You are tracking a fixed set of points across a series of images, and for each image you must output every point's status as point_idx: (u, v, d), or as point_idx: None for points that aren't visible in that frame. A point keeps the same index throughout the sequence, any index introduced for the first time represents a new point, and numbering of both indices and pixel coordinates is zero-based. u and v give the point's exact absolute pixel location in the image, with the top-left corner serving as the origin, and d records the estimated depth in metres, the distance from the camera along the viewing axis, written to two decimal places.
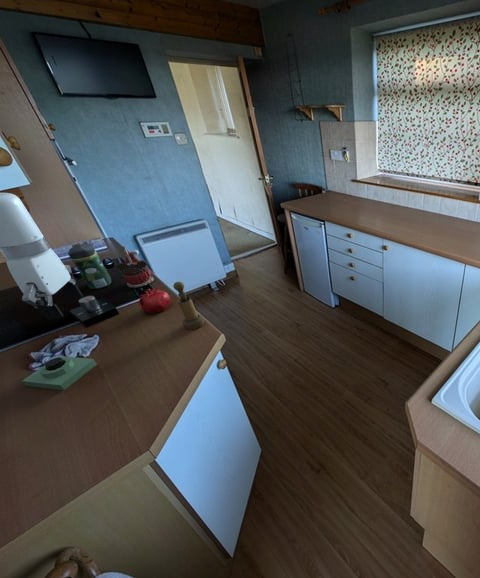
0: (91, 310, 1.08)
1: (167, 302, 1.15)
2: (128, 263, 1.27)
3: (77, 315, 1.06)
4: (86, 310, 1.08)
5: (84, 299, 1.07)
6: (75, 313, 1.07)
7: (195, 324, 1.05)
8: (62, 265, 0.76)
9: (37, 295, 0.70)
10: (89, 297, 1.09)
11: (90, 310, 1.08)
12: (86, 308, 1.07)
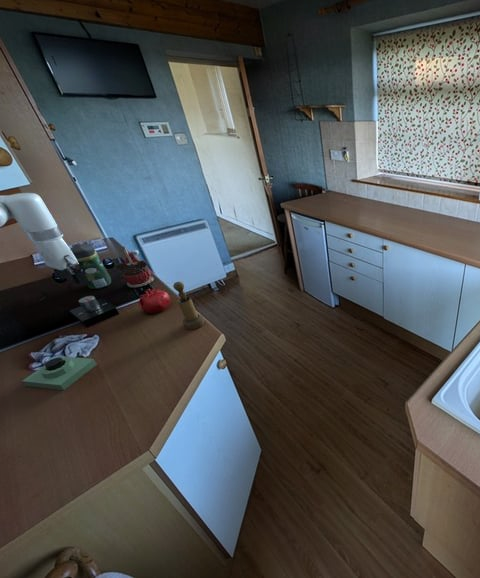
0: (91, 310, 1.08)
1: (167, 302, 1.15)
2: (128, 263, 1.27)
3: (77, 315, 1.06)
4: (86, 310, 1.08)
5: (84, 299, 1.07)
6: (75, 313, 1.07)
7: (195, 324, 1.05)
8: None
9: (69, 266, 0.96)
10: (89, 297, 1.09)
11: (90, 310, 1.08)
12: (86, 308, 1.07)
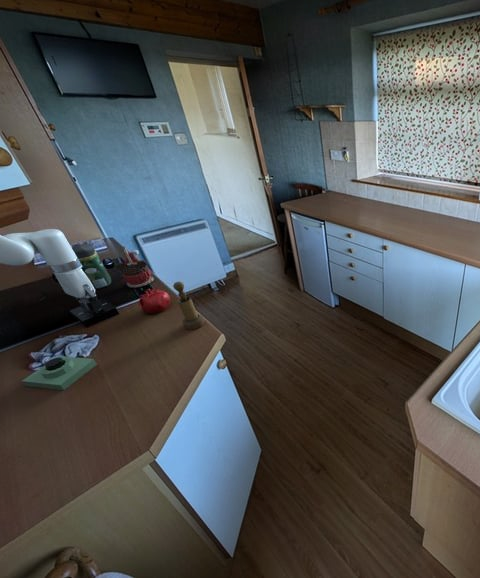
0: None
1: (167, 302, 1.15)
2: (128, 263, 1.27)
3: (77, 315, 1.06)
4: (86, 310, 1.08)
5: (84, 299, 1.07)
6: (75, 313, 1.07)
7: (195, 324, 1.05)
8: None
9: (86, 295, 1.05)
10: None
11: None
12: (86, 308, 1.07)
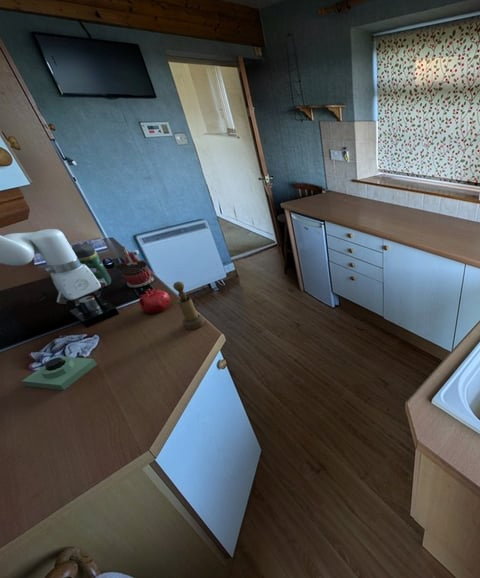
0: (99, 305, 1.11)
1: (167, 302, 1.15)
2: (128, 263, 1.27)
3: (77, 315, 1.06)
4: (97, 307, 1.10)
5: (86, 299, 1.07)
6: (75, 313, 1.07)
7: (195, 324, 1.05)
8: None
9: None
10: (84, 298, 1.08)
11: (99, 305, 1.11)
12: (97, 304, 1.10)
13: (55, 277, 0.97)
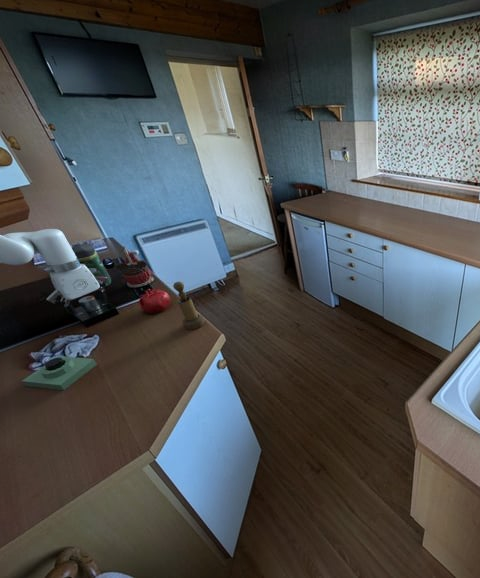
0: (99, 305, 1.11)
1: (167, 302, 1.15)
2: (128, 263, 1.27)
3: (77, 315, 1.06)
4: (97, 307, 1.10)
5: (86, 299, 1.07)
6: None
7: (195, 324, 1.05)
8: None
9: None
10: (84, 298, 1.08)
11: (99, 305, 1.11)
12: (97, 304, 1.10)
13: (54, 277, 0.97)
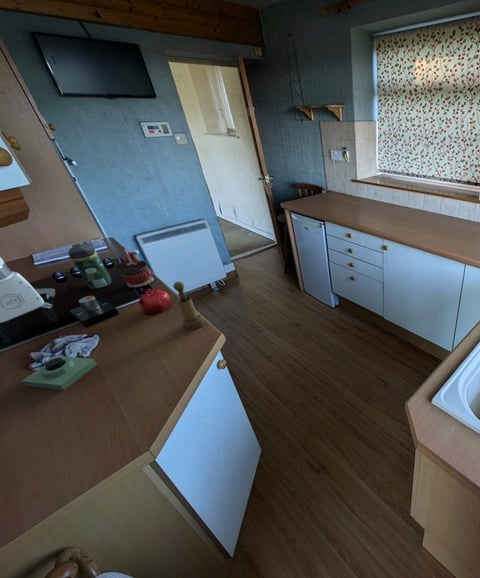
0: (99, 305, 1.11)
1: (167, 302, 1.15)
2: (128, 263, 1.27)
3: (77, 315, 1.06)
4: (97, 307, 1.10)
5: (86, 299, 1.07)
6: (75, 313, 1.07)
7: (195, 324, 1.05)
8: None
9: None
10: (84, 298, 1.08)
11: (99, 305, 1.11)
12: (97, 304, 1.10)
13: None
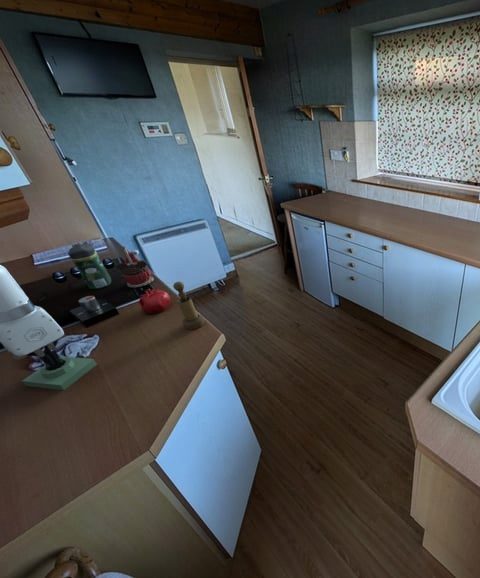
0: (99, 305, 1.11)
1: (167, 302, 1.15)
2: (128, 263, 1.27)
3: (77, 315, 1.06)
4: (97, 307, 1.10)
5: (86, 299, 1.07)
6: (75, 313, 1.07)
7: (195, 324, 1.05)
8: None
9: None
10: (84, 298, 1.08)
11: (99, 305, 1.11)
12: (97, 304, 1.10)
13: None
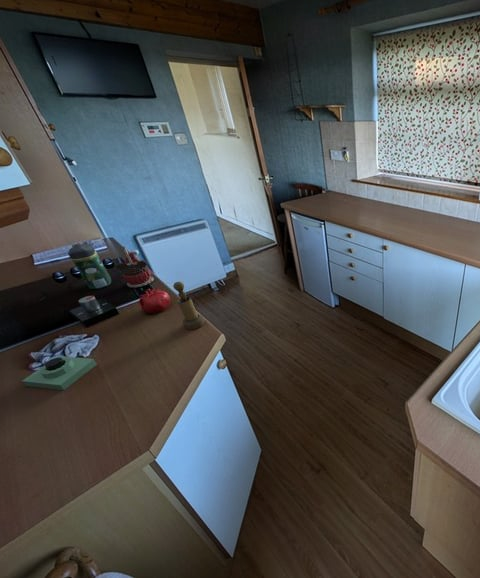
0: (99, 305, 1.11)
1: (167, 302, 1.15)
2: (128, 263, 1.27)
3: (77, 315, 1.06)
4: (97, 307, 1.10)
5: (86, 299, 1.07)
6: (75, 313, 1.07)
7: (195, 324, 1.05)
8: None
9: None
10: (84, 298, 1.08)
11: (99, 305, 1.11)
12: (97, 304, 1.10)
13: None
